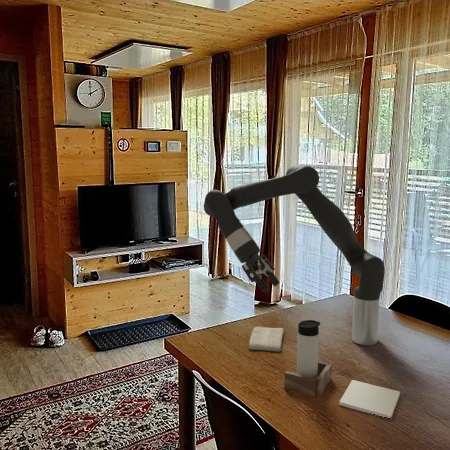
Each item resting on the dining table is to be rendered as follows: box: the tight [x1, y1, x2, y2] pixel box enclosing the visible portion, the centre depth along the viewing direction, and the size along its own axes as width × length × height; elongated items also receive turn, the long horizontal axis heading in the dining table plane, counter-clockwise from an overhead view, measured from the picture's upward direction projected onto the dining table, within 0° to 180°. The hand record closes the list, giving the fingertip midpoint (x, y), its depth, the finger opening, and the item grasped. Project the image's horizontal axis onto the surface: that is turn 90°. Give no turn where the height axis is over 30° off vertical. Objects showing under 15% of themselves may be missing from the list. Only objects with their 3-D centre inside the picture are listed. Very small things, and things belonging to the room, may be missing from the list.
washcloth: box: [248, 326, 285, 352], centre depth 171 cm, size 12×18×3 cm, turn 170°
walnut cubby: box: [283, 360, 333, 398], centre depth 140 cm, size 12×11×5 cm
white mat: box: [338, 379, 401, 419], centre depth 131 cm, size 14×14×1 cm
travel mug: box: [296, 319, 321, 379], centre depth 139 cm, size 6×7×20 cm
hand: (272, 287), depth 141 cm, fingers open, 8 cm apart
